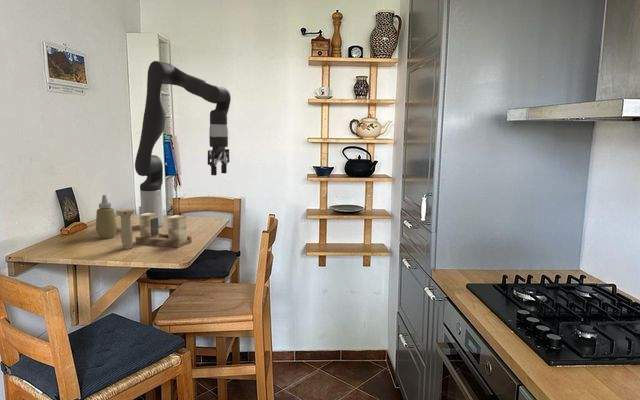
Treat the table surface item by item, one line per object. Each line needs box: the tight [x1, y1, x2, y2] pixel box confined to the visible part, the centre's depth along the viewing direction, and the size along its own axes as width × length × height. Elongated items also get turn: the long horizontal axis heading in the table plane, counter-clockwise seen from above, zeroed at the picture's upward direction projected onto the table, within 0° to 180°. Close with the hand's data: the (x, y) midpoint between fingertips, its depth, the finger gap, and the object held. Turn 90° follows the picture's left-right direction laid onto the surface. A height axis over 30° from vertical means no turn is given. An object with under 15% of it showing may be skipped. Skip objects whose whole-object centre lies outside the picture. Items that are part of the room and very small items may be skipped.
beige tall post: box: [115, 208, 136, 250], centre depth 167 cm, size 5×6×15 cm
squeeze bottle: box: [95, 194, 118, 239], centre depth 183 cm, size 8×8×18 cm
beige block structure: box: [134, 213, 192, 249], centre depth 177 cm, size 20×9×11 cm, turn 73°
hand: (219, 174), depth 185 cm, fingers open, 8 cm apart
